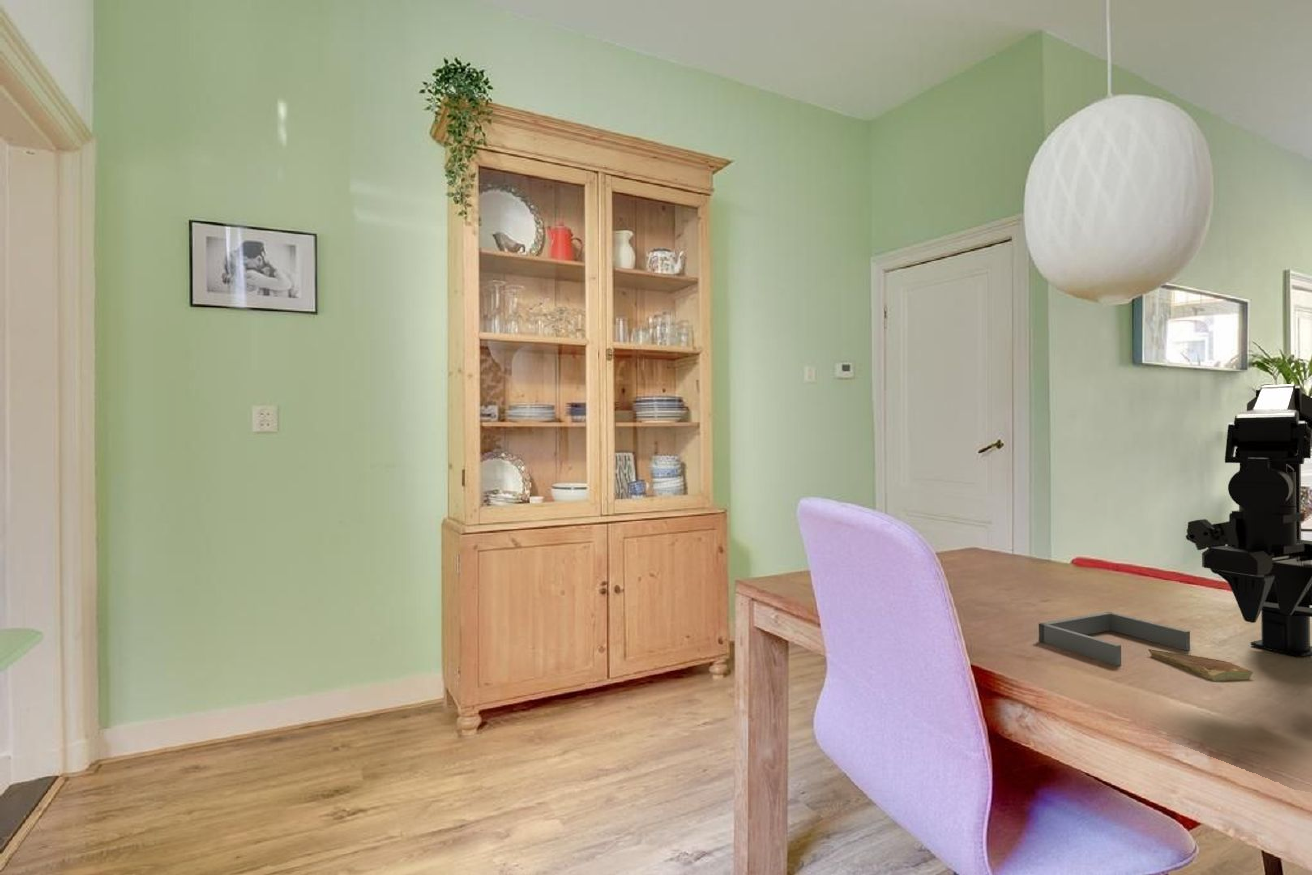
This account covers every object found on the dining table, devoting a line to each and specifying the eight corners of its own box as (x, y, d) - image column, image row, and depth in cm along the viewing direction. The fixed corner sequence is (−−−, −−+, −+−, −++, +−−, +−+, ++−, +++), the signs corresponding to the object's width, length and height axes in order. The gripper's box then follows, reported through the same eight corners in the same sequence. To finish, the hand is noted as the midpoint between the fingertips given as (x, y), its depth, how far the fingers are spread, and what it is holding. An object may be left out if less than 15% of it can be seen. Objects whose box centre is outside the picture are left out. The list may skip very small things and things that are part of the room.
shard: (1147, 658, 103) (1147, 647, 103) (1192, 656, 104) (1192, 645, 104) (1210, 684, 93) (1210, 672, 93) (1260, 682, 93) (1260, 669, 93)
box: (1108, 628, 118) (1108, 611, 118) (1190, 649, 106) (1189, 631, 106) (1038, 640, 111) (1038, 623, 111) (1116, 665, 99) (1116, 645, 99)
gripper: (1237, 496, 100) (1238, 597, 100) (1159, 503, 93) (1160, 611, 93) (1334, 503, 89) (1335, 615, 89) (1254, 511, 82) (1255, 633, 82)
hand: (1268, 618), depth 89 cm, fingers open, 8 cm apart
